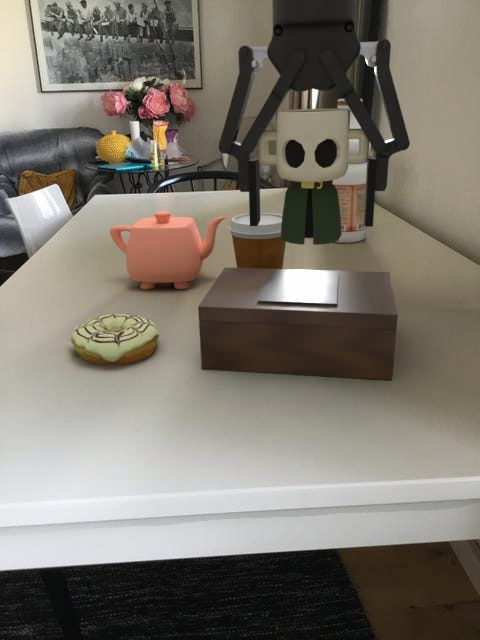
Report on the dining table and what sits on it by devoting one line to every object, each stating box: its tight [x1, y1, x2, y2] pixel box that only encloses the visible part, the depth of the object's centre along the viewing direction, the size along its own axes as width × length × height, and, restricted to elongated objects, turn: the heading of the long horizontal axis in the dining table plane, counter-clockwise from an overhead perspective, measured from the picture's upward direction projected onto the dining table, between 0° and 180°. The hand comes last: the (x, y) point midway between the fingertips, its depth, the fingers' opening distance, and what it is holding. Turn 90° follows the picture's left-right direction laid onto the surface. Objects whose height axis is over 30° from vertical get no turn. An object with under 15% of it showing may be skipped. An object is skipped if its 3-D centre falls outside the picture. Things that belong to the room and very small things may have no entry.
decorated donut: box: [70, 312, 161, 366], centre depth 72 cm, size 10×11×4 cm
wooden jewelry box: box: [197, 266, 399, 381], centre depth 71 cm, size 22×15×8 cm
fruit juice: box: [332, 98, 372, 244], centre depth 117 cm, size 9×9×28 cm
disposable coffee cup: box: [228, 212, 287, 269], centre depth 89 cm, size 10×10×12 cm
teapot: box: [109, 210, 228, 290], centre depth 96 cm, size 20×12×12 cm, turn 86°
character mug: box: [256, 108, 370, 246], centre depth 57 cm, size 11×7×13 cm, turn 80°
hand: (310, 223), depth 58 cm, fingers closed on character mug, 11 cm apart
